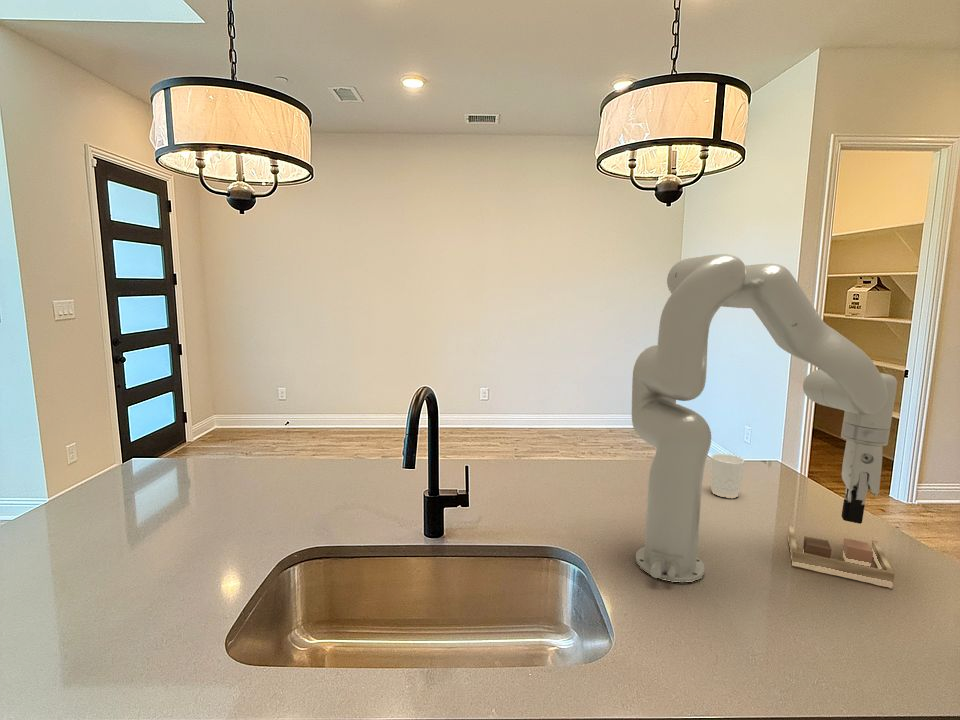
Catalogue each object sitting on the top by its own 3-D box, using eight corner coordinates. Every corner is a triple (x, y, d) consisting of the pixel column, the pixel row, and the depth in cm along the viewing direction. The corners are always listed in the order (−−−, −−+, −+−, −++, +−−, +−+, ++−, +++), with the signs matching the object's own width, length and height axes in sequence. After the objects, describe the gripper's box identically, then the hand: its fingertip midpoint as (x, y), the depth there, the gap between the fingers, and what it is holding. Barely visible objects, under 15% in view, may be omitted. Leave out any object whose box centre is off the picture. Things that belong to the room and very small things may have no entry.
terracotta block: (870, 571, 97) (873, 551, 97) (845, 565, 99) (847, 546, 99) (866, 561, 101) (868, 542, 100) (841, 556, 103) (844, 538, 102)
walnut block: (829, 568, 98) (831, 549, 97) (805, 563, 100) (807, 544, 99) (825, 559, 101) (827, 540, 101) (802, 554, 103) (804, 536, 103)
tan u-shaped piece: (892, 589, 91) (894, 573, 91) (791, 566, 98) (793, 552, 98) (875, 555, 103) (877, 541, 103) (787, 536, 111) (788, 524, 110)
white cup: (733, 502, 129) (736, 465, 127) (703, 493, 135) (705, 457, 133) (746, 495, 134) (749, 459, 132) (716, 486, 140) (719, 451, 138)
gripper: (898, 445, 92) (882, 540, 94) (879, 429, 105) (866, 512, 107) (848, 438, 95) (834, 529, 98) (836, 423, 109) (824, 504, 111)
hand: (851, 520), depth 102 cm, fingers closed
